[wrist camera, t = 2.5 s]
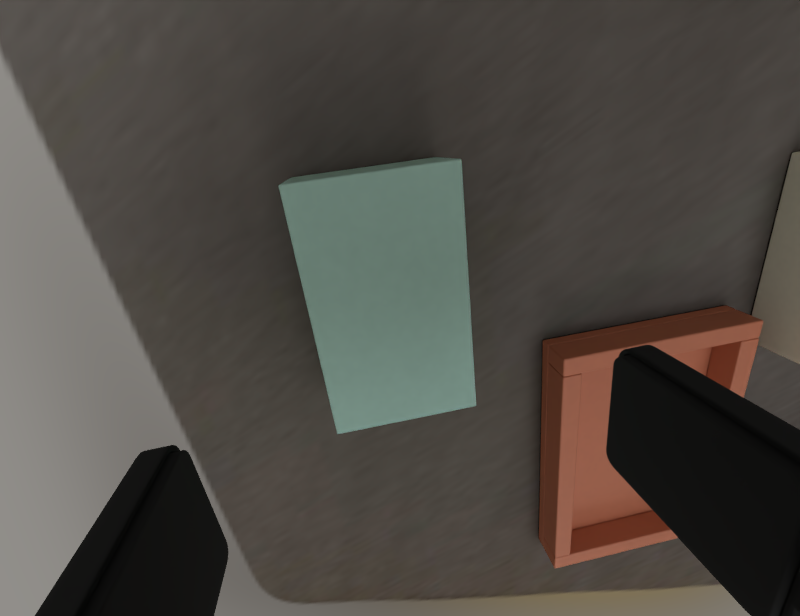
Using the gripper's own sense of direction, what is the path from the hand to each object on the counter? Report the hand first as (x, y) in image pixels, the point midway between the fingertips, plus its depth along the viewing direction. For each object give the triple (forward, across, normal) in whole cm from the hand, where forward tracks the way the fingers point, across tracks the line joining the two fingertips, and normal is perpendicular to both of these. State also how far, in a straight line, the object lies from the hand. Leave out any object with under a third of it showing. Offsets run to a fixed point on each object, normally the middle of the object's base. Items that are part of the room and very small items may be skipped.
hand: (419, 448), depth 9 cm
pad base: (+10, 0, -1) cm, 10 cm away
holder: (+10, -14, +11) cm, 20 cm away
